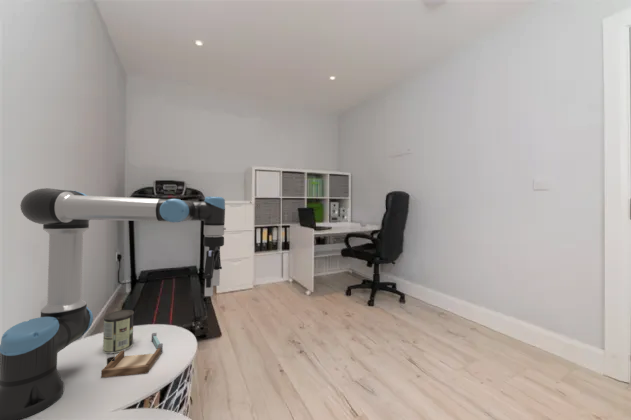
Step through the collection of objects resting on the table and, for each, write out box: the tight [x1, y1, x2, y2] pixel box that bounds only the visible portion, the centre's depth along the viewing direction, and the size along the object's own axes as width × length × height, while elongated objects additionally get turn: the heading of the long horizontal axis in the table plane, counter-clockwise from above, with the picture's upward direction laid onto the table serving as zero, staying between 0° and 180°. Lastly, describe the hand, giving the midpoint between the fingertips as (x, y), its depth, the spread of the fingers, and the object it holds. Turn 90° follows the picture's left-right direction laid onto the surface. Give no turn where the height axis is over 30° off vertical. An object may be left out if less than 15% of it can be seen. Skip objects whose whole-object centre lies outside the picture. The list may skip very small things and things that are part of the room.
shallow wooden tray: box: [100, 348, 162, 379], centre depth 98 cm, size 14×13×2 cm
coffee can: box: [102, 309, 135, 355], centre depth 110 cm, size 10×10×14 cm
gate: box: [151, 332, 164, 354], centre depth 111 cm, size 14×2×3 cm, turn 42°
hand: (212, 290), depth 102 cm, fingers open, 13 cm apart
